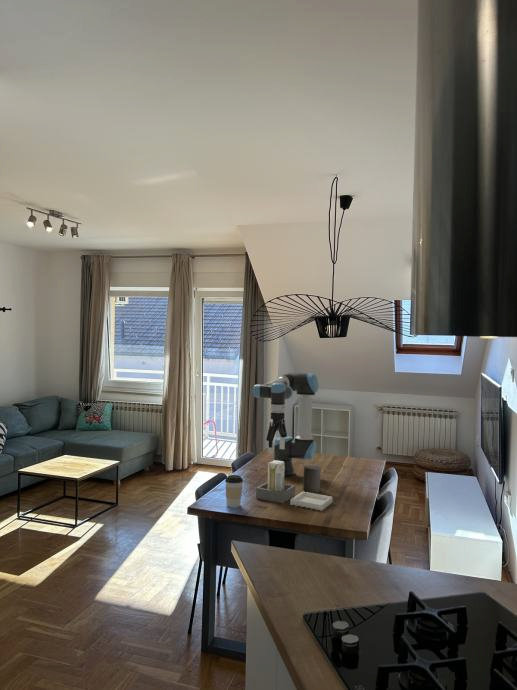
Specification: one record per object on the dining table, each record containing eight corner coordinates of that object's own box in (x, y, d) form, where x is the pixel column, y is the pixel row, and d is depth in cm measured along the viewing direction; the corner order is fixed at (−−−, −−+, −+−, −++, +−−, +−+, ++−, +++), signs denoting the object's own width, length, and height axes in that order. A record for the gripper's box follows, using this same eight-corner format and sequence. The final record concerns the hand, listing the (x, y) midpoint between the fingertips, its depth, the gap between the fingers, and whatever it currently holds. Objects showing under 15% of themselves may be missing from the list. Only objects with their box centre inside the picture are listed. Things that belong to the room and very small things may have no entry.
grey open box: (255, 497, 262) (256, 487, 262) (268, 490, 276) (269, 481, 276) (282, 503, 255) (283, 492, 255) (294, 495, 268) (294, 485, 268)
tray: (290, 505, 252) (290, 499, 252) (302, 496, 266) (302, 491, 266) (321, 511, 244) (321, 505, 244) (332, 502, 258) (332, 496, 258)
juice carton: (285, 496, 267) (286, 461, 267) (277, 500, 260) (278, 464, 259) (273, 493, 271) (274, 459, 271) (265, 497, 263) (266, 462, 263)
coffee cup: (225, 502, 254) (226, 473, 254) (242, 502, 254) (243, 473, 254) (223, 507, 245) (224, 478, 245) (241, 508, 245) (242, 478, 245)
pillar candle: (300, 491, 276) (301, 465, 276) (305, 486, 285) (306, 461, 285) (317, 494, 272) (318, 467, 272) (321, 489, 282) (322, 463, 281)
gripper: (273, 415, 252) (272, 456, 252) (293, 410, 274) (292, 448, 274) (260, 413, 256) (259, 454, 256) (281, 409, 278) (280, 446, 278)
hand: (276, 451), depth 265 cm, fingers open, 13 cm apart
